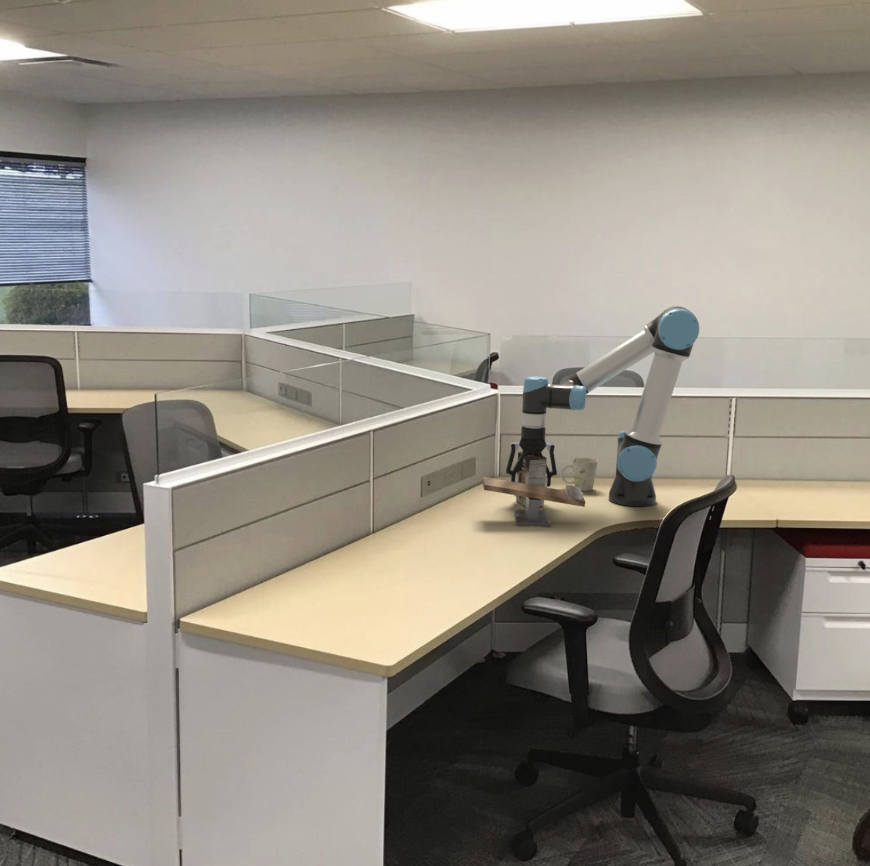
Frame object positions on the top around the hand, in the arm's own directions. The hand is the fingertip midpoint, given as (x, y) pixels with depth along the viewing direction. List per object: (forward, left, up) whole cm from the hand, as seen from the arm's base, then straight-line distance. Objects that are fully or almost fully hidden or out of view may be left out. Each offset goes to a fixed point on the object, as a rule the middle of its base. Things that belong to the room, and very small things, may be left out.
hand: (530, 495), depth 319 cm
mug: (-18, -22, -3) cm, 29 cm away
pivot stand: (+1, +19, -3) cm, 19 cm away
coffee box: (0, 0, -3) cm, 3 cm away
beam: (+1, +19, +5) cm, 20 cm away
